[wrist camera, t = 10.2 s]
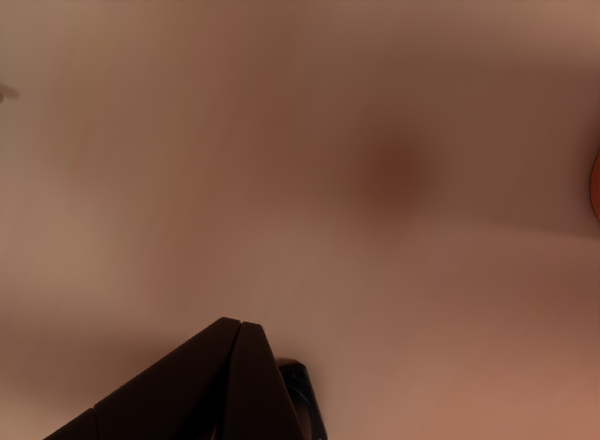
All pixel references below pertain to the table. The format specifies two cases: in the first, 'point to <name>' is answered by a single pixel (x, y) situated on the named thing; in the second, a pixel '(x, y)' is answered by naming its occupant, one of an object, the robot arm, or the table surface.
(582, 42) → the table surface
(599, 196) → the pen pot
